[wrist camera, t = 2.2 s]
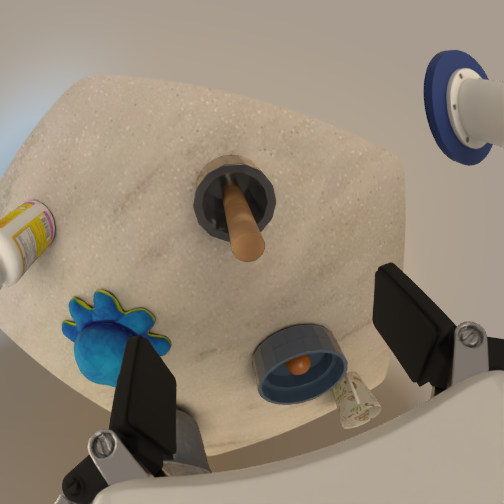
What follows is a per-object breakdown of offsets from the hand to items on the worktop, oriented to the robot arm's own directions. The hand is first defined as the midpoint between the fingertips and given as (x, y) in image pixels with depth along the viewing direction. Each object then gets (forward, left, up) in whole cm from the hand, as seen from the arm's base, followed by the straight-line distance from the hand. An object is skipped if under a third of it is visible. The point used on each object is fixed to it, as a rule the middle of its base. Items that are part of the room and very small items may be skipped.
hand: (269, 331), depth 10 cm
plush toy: (+23, +16, -22) cm, 35 cm away
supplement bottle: (+25, -4, -22) cm, 33 cm away
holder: (0, 0, -22) cm, 22 cm away
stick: (0, 0, -21) cm, 21 cm away
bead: (-3, +29, -19) cm, 34 cm away
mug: (-12, +42, -22) cm, 49 cm away
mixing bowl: (-3, +29, -22) cm, 36 cm away
